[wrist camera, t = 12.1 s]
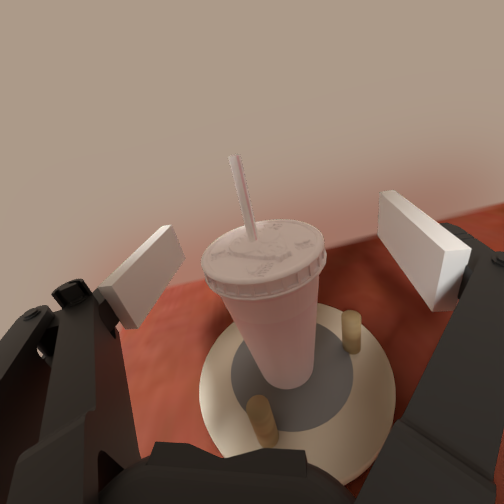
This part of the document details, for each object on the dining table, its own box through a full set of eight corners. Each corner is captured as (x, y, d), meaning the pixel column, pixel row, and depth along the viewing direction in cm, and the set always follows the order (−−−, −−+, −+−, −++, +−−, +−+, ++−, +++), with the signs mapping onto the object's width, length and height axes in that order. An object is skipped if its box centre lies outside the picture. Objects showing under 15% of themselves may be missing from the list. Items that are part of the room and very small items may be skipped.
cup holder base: (387, 318, 20) (390, 279, 18) (407, 555, 10) (420, 525, 8) (245, 301, 25) (236, 270, 23) (165, 441, 15) (138, 407, 13)
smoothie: (289, 315, 21) (257, 141, 14) (355, 365, 16) (355, 131, 9) (226, 361, 18) (149, 174, 11) (282, 438, 13) (204, 185, 6)
